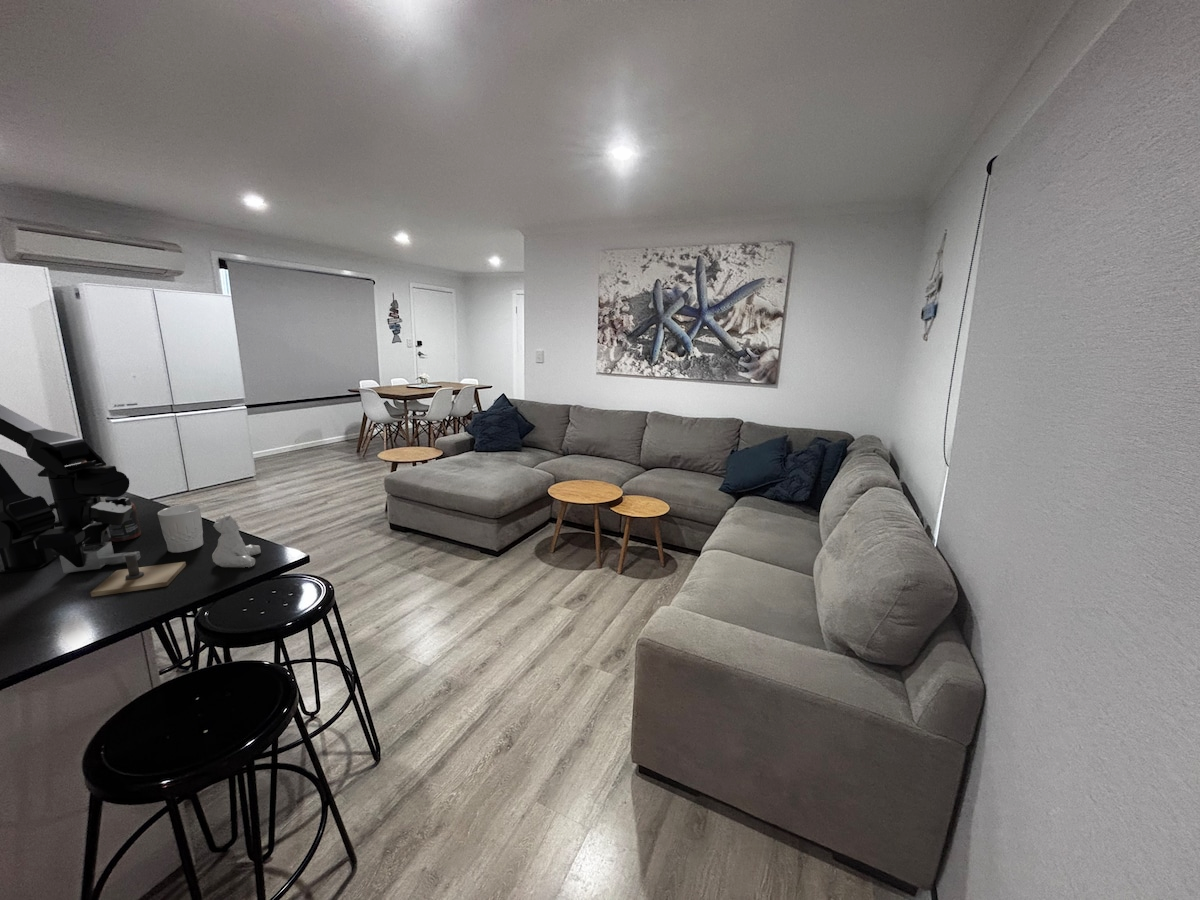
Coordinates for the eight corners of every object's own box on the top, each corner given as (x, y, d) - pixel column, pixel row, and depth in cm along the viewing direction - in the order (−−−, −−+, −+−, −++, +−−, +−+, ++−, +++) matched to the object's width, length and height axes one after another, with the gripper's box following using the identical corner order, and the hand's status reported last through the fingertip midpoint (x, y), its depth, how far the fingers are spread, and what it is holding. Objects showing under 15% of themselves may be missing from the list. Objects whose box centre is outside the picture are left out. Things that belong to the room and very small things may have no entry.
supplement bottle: (123, 533, 124) (114, 493, 121) (147, 533, 124) (139, 493, 122) (102, 542, 118) (92, 500, 115) (127, 542, 118) (118, 500, 116)
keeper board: (91, 596, 94) (84, 569, 92) (117, 574, 103) (111, 549, 101) (167, 586, 99) (162, 560, 97) (186, 565, 107) (181, 541, 106)
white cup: (182, 555, 112) (174, 516, 110) (156, 551, 114) (148, 513, 111) (214, 542, 120) (208, 505, 117) (189, 539, 121) (183, 503, 119)
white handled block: (63, 573, 101) (59, 556, 100) (80, 561, 107) (76, 545, 106) (132, 564, 106) (129, 548, 105) (145, 553, 111) (141, 538, 110)
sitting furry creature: (254, 567, 107) (246, 519, 105) (207, 574, 104) (198, 524, 101) (262, 551, 116) (255, 505, 113) (219, 557, 112) (210, 510, 109)
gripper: (98, 505, 96) (114, 573, 100) (141, 480, 113) (154, 539, 116) (23, 511, 92) (42, 582, 95) (79, 484, 108) (94, 546, 112)
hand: (89, 560), depth 105 cm, fingers closed on white handled block, 6 cm apart
